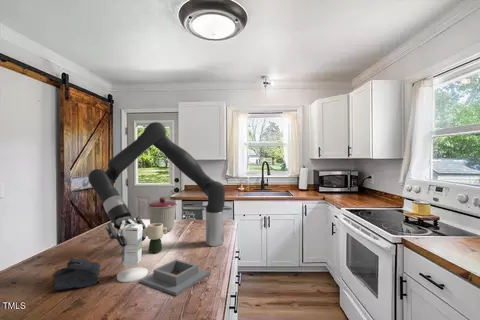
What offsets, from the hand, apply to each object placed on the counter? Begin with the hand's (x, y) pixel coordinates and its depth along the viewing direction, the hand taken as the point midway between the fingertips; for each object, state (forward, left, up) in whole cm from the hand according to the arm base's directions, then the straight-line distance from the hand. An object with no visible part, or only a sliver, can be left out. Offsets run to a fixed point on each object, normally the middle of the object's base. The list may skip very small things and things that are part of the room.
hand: (134, 242), depth 96 cm
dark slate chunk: (+12, -19, -14) cm, 26 cm away
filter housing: (-7, +15, -13) cm, 21 cm away
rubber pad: (0, -1, -13) cm, 13 cm away
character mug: (-22, -14, -13) cm, 29 cm away
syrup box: (0, -1, -8) cm, 8 cm away
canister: (-49, -39, -13) cm, 64 cm away
